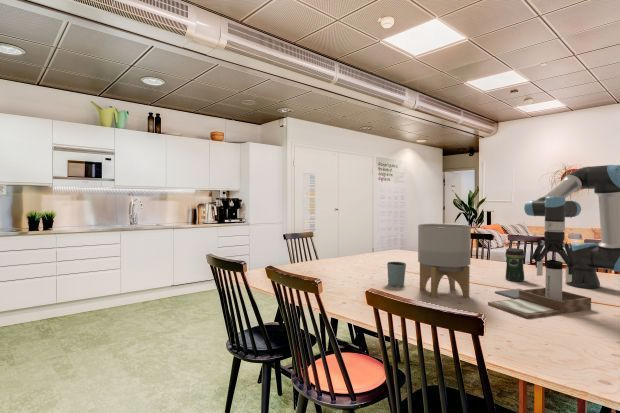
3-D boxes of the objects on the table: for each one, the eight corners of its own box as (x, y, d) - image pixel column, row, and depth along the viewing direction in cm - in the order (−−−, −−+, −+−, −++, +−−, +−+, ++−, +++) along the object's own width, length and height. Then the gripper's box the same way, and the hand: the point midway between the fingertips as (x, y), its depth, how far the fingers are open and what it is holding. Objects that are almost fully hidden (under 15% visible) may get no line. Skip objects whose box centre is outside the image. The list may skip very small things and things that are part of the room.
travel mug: (559, 303, 166) (559, 259, 166) (564, 307, 160) (564, 262, 159) (543, 302, 168) (543, 259, 168) (547, 306, 162) (548, 261, 161)
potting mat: (519, 290, 190) (519, 288, 190) (540, 296, 179) (540, 294, 179) (494, 293, 185) (494, 291, 185) (515, 299, 174) (515, 297, 174)
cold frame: (547, 297, 176) (547, 287, 176) (591, 309, 157) (591, 298, 157) (487, 304, 165) (487, 293, 165) (527, 318, 146) (527, 306, 146)
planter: (409, 293, 185) (409, 225, 184) (430, 284, 204) (431, 222, 203) (458, 302, 168) (459, 228, 168) (477, 292, 187) (478, 225, 186)
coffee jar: (525, 280, 214) (525, 248, 213) (522, 282, 208) (523, 249, 207) (507, 277, 220) (507, 246, 220) (503, 280, 214) (504, 248, 214)
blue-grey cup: (385, 282, 209) (385, 261, 209) (403, 282, 208) (403, 261, 208) (389, 286, 199) (389, 264, 198) (407, 286, 198) (407, 264, 198)
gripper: (523, 229, 174) (522, 273, 174) (576, 233, 150) (575, 285, 151) (535, 228, 176) (534, 272, 177) (589, 233, 153) (588, 284, 153)
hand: (553, 278), depth 164 cm, fingers open, 13 cm apart
